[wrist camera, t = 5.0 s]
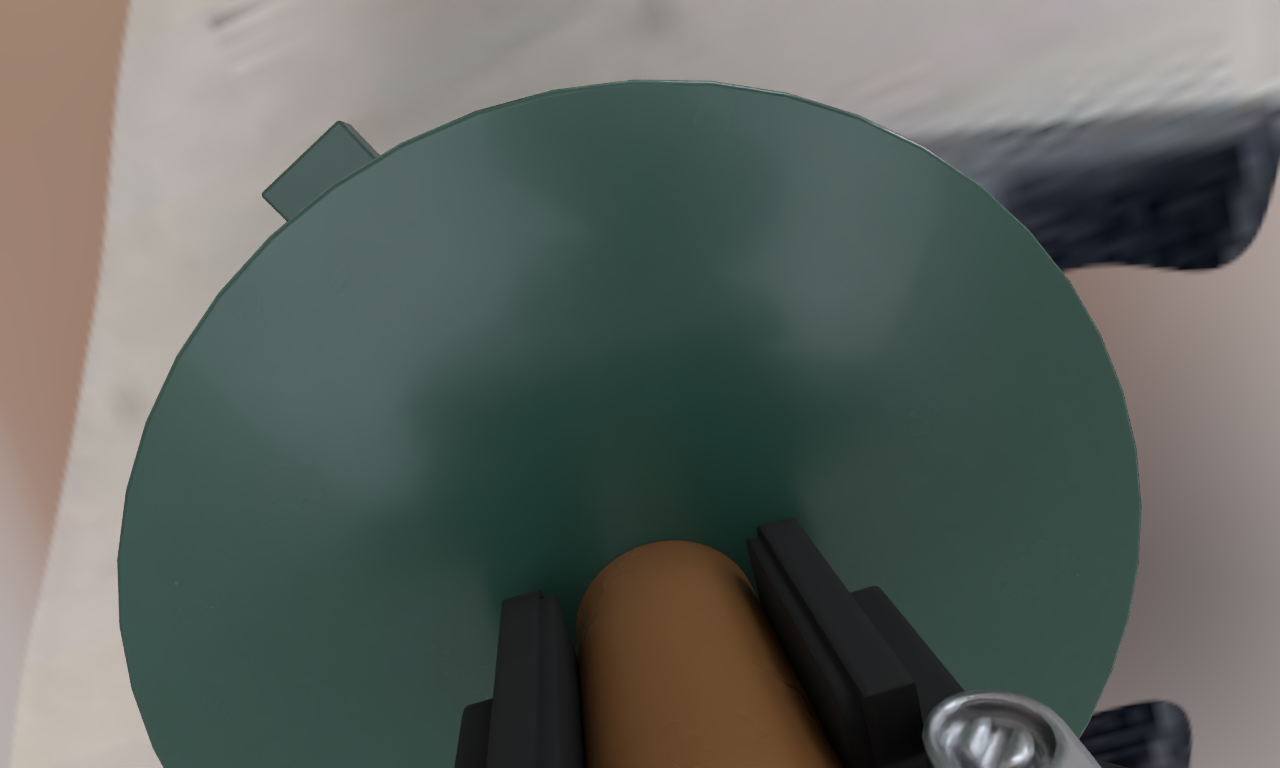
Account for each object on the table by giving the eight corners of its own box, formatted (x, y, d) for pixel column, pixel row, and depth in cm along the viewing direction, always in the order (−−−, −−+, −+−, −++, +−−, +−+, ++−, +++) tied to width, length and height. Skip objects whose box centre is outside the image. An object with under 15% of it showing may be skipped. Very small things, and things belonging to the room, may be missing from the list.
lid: (715, -169, 10) (949, -635, 4) (1241, 582, 15) (1726, 864, 9) (-75, 584, 12) (-723, 1010, 6) (618, 1074, 16) (663, 1615, 10)
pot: (543, 11, 25) (548, -93, 16) (900, 443, 30) (1059, 554, 21) (218, 318, 26) (43, 389, 17) (619, 685, 31) (653, 892, 22)
